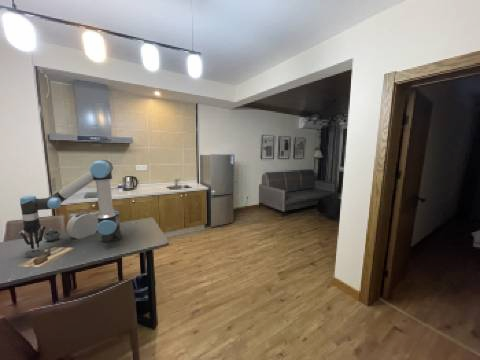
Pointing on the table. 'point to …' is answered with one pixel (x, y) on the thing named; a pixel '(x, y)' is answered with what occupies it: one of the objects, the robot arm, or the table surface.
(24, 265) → the board
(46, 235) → the mortar and pestle
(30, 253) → the latch bar
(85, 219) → the alarm clock
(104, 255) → the table surface
